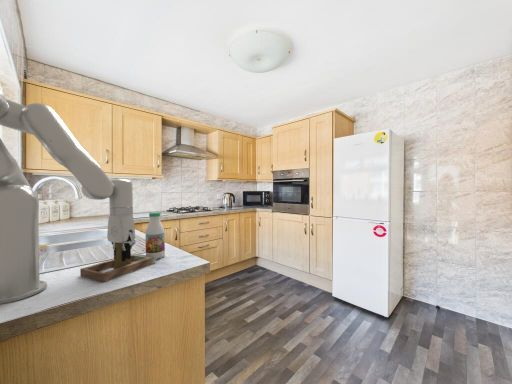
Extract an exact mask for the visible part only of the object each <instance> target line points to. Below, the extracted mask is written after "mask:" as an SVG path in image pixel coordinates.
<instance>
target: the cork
mask: <svg viewBox="0 0 512 384" xmlns="http://www.w3.org/2000/svg"><path fill="white" fill-rule="evenodd" d="M127 241H128V240H127ZM127 241H126V242H127ZM127 244H128V243H126V245H127ZM114 246H115V248H116V255H115V263H114V267H113V269H116V268H119V267H122V266H125V265H128V264H130V263H132V262H133V261H132V262H131V259H130V260H129V259H126V260H125V261H124V262H123V261H122V251H123V247H122V243H115V244H114Z"/></svg>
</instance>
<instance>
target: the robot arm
mask: <svg viewBox="0 0 512 384" xmlns="http://www.w3.org/2000/svg"><path fill="white" fill-rule="evenodd" d="M0 126H2V127H6V128H9V129H13V130H15V131H18V132H22V133H25V134H29V135H33V136H34V137H35V138H36V140H37V141H38V142H39V143H40V144H41V145H42V146H43V148H44V149H45V151H46V152H47V153H48V154H49V155H50V156H51V158H52V159H53V160H54V161H55V162H57V163H58V164H59V165H61V166H63V167H64V168H65V169H67V170H68V171H69V172H70V174H71V175H72V176H74V177H75V179H76V180H77V181H78V182H79V184H80V185H81V192H82V194H83V196H84V197H86V198H87V199H90V200H96V201H98V200H99V201H101V200H105V199H108V198H109V216H108V223H107V232H106V233H107V234H106V235H107V239H106V240H107V241H108V242H110V243H111V245H112V250H113V259H114V260H115V255H116V248H115V246H114V244H115V243H122V247H123V251H122V261H123V262H124V261H125V260H126V259H129V260H130V259H131V254H132V248H133V246H134V245H135V244H136V230H135V229H136V226H135V220H134V219H135V218H134V206H133V205H134V204H133V202H134V197H133V196H134V195H133V182H132V181H131V180H130V179H112V180H111V179H110V177H109V176H108V175H107V174H106V172H105V171H104V170H103V168H102V167H101V166H100V164H99V163H98V162H97V161H96V160H95V159H94V158H93V157H92V156H91V155H90V154H89V153H88V151H86V149H85V148H83V146H82V145H81V143H80V142H79V140H78V139H77V138H76V137H75V136H74V134H73V133H72V132H71V130H70V129H69V128H68V126H67V125H66V124H65V123H64V121H63V119H62V118H61V117H60V116H59V114H58V113H57V112H56V111H55V110H54V109H53V108H52V107H50V106H48V105H46V104H44V103H39V102H38V103H37V102H35V103H34V102H32V103H29V104H26V105H23V104H21V103H17V102H16V101H12V100H9V99H7V98H6V95H5V93H4V92H3V91H2V90H1V88H0ZM39 210H40V200H39V197H38V195H37V193H36V192H35V191H34V190H33V188H32V186H31V185H30V183H29V181H28V180H27V178H26V176H25V174H24V172H23V171H22V169H21V167H20V166H19V164H18V161H17V160H16V159H15V157H13V155H11V153H10V152H9V150H8V148H7V147H6V145H5V143H4V142H3V140H2V138H1V137H0V304H6V303H11V302H15V301H19V300H24V299H26V298H29V297H32V296H34V295H36V294H39V293H41V292H42V291H44V290H45V289H46V288H47V286H48V283H47V282H46V281H44V280H40V237H39V235H40V234H39V229H40V228H39V226H40V225H39V217H40V216H39V214H40V212H39ZM127 240H128V241H127ZM126 241H127V242H126ZM126 243H128V244H127V245H126Z"/></svg>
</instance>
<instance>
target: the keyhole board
mask: <svg viewBox="0 0 512 384" xmlns="http://www.w3.org/2000/svg"><path fill="white" fill-rule="evenodd" d="M131 262H132V263H130V264H128V265H125V266H122V267H119V268H116V269H114V263H115V260H114V258H113V259H109V260H105V261H103V262H100V263H97V264H92V265H89V266H85V267H83V268H80V271H79V272H80V277H84V278H87V279H90V280H93V281H97V282H99V283H105V282H107V281H110V280H113V279H115V278H119V277H121V276H124V275H126V274H129V273H132V272H135V271H138V270H141V269H143V268H145V267H147V266H151V265H153V264H155V263H156V259H155V257H153V256H147V255H146V254H140V253H131ZM111 268H113V269H111ZM108 269H111V270H108ZM105 270H108V271H105ZM101 271H102V272H101ZM103 271H104V272H103Z"/></svg>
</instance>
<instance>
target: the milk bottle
mask: <svg viewBox="0 0 512 384" xmlns="http://www.w3.org/2000/svg"><path fill="white" fill-rule="evenodd" d="M161 215H162V214H161V212H160V211H154V212H153V211H152V212H149V213H148V216H149V222H148V224H147V227H146V229H145V255H147V256H153V257H155V260H158V259H162V258H164V257H165V255H166V252H165V251H166V248H165V247H166V246H165V245H166V244H165V243H166V242H165V239H166V238H165V236H166V235H165V228H164V225H163V223H162V221H161Z"/></svg>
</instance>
